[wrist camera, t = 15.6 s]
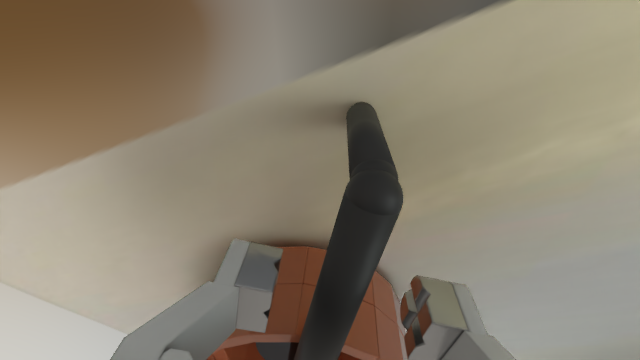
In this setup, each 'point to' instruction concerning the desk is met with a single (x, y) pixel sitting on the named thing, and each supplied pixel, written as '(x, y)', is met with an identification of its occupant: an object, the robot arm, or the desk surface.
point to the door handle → (349, 243)
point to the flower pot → (293, 305)
